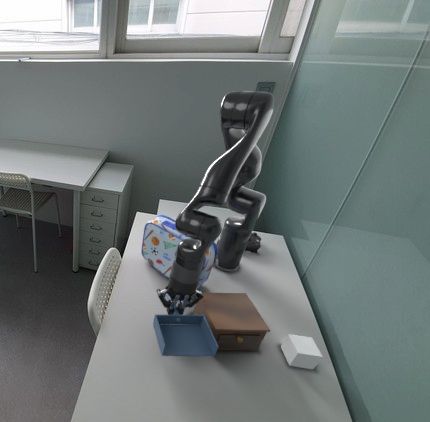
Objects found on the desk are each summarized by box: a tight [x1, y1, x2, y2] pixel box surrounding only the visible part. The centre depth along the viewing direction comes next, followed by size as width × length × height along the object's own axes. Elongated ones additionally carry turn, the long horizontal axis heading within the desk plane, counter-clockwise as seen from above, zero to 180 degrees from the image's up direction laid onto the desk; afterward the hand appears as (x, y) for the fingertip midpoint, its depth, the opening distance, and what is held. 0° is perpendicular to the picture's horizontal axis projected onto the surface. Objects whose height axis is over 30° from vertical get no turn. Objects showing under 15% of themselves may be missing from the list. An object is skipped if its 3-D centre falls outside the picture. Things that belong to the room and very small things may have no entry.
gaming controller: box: [244, 231, 262, 254], centre depth 130 cm, size 14×6×10 cm
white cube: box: [280, 333, 324, 370], centre depth 86 cm, size 6×6×6 cm
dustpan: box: [152, 294, 219, 358], centre depth 91 cm, size 20×14×4 cm
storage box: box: [191, 292, 271, 352], centre depth 92 cm, size 15×15×10 cm
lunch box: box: [141, 214, 218, 290], centre depth 112 cm, size 28×10×22 cm, turn 37°
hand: (174, 314), depth 94 cm, fingers closed on dustpan, 2 cm apart
